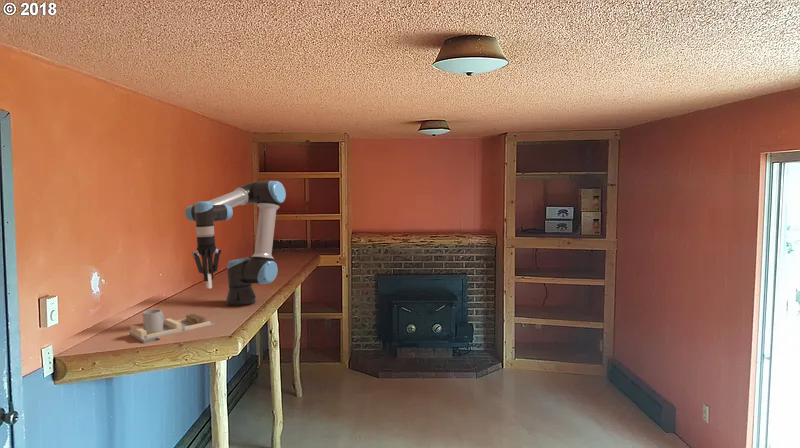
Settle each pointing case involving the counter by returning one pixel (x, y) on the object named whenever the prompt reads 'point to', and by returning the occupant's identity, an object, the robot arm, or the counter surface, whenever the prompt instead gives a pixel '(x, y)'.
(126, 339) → the counter surface
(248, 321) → the counter surface
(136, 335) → the jig
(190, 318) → the brown rounded bar
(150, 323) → the cup
